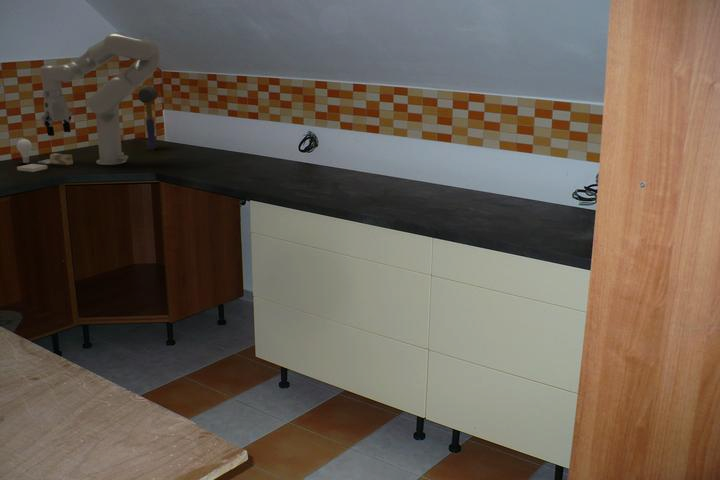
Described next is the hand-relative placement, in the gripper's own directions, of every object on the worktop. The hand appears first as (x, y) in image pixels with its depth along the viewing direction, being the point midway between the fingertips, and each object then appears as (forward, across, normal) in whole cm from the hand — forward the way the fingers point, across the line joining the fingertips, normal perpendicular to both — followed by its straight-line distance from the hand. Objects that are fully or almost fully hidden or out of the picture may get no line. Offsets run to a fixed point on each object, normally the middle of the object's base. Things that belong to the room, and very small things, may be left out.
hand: (59, 133), depth 356 cm
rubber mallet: (+15, +44, -14) cm, 49 cm away
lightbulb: (+13, -7, +15) cm, 21 cm away
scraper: (+13, -1, +4) cm, 14 cm away
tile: (+12, -16, -2) cm, 20 cm away
